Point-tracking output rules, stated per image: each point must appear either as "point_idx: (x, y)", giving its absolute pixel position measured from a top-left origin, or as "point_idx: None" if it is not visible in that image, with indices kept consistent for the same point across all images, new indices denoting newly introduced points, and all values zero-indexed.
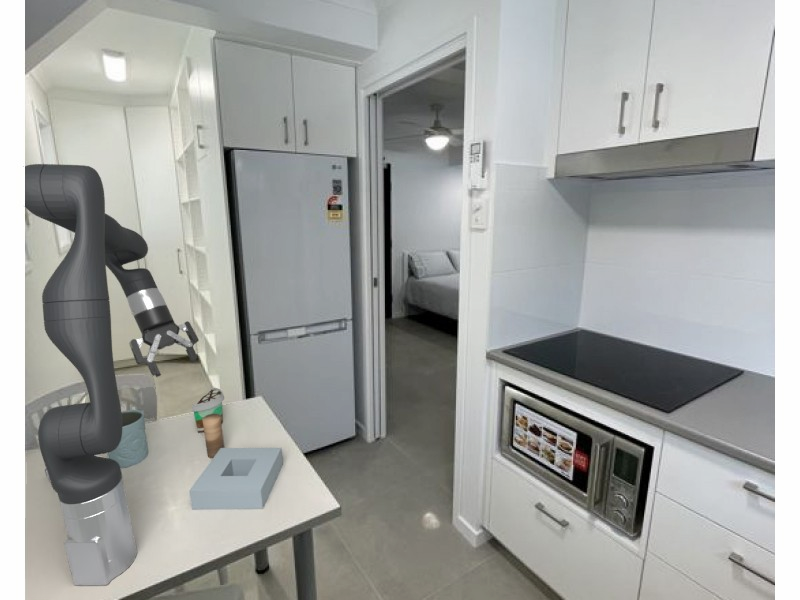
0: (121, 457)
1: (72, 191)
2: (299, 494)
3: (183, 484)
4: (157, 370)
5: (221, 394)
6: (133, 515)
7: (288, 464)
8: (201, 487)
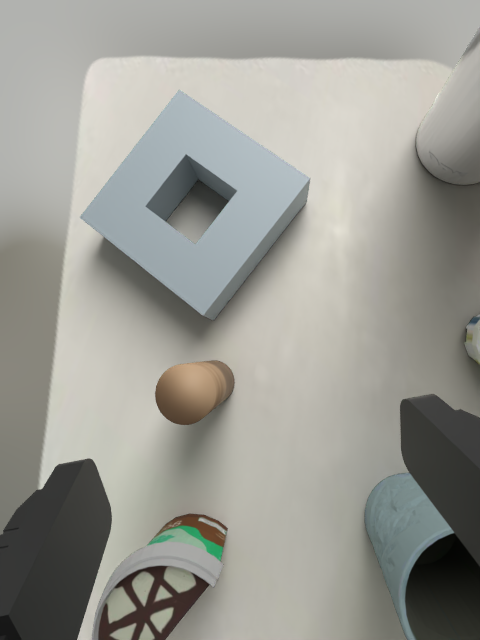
0: None
1: None
2: (120, 121)
3: (306, 300)
4: (446, 419)
5: (101, 602)
6: (415, 256)
7: None
8: (284, 172)
